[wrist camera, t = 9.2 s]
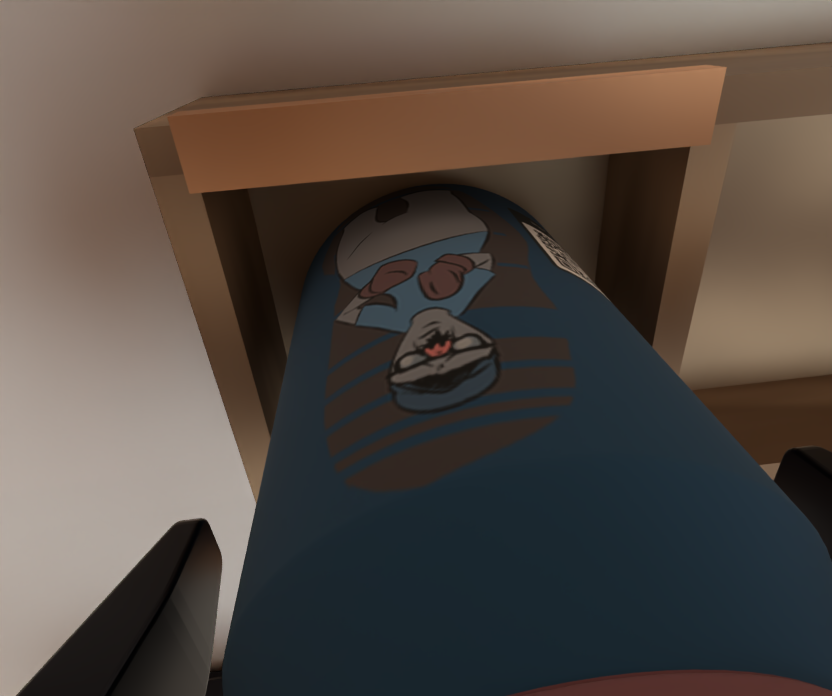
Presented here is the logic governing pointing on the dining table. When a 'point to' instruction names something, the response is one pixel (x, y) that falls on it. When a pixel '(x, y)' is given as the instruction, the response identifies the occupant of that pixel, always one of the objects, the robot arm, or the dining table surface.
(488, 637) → the soda can
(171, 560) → the robot arm
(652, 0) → the dining table surface
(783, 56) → the rack
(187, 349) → the dining table surface
